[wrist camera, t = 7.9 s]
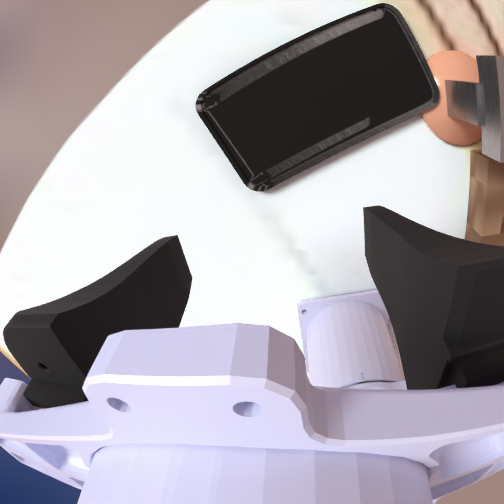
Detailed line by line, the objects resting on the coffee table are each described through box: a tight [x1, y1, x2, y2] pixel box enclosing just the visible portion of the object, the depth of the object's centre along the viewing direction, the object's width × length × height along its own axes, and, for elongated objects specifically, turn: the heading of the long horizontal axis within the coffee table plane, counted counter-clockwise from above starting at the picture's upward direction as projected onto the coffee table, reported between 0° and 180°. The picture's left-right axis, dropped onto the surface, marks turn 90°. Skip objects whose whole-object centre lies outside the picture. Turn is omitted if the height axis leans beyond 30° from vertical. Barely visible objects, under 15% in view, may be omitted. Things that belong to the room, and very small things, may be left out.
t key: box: [445, 56, 504, 163], centre depth 14 cm, size 6×3×6 cm, turn 11°
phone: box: [196, 3, 440, 191], centre depth 18 cm, size 8×1×15 cm
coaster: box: [421, 51, 482, 145], centre depth 17 cm, size 7×7×1 cm
